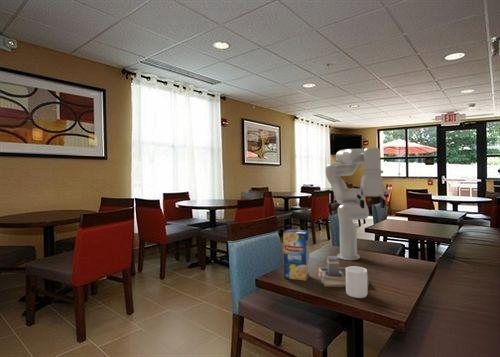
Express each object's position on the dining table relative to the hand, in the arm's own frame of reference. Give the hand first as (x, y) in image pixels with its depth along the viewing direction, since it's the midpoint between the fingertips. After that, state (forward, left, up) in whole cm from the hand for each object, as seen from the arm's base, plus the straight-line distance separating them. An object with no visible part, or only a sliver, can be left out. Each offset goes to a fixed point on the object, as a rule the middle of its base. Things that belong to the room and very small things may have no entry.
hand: (372, 207), depth 144 cm
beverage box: (+4, -38, -32) cm, 50 cm away
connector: (+10, -22, -31) cm, 39 cm away
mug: (+23, -16, -32) cm, 43 cm away
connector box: (+10, -18, -32) cm, 38 cm away
